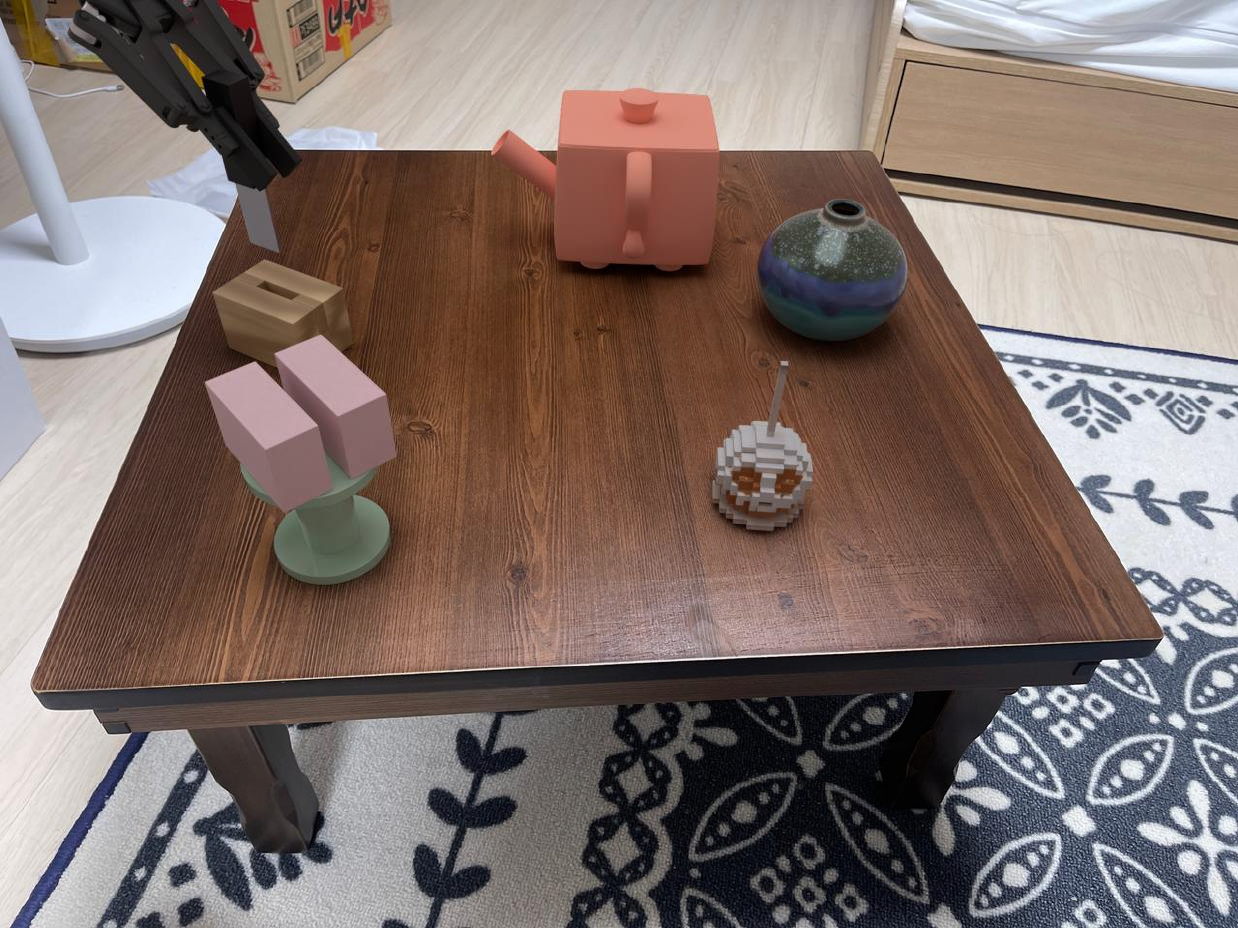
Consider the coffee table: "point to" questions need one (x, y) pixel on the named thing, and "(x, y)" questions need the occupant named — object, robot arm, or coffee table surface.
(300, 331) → the knife block
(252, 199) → the knife
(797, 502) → the decorative ornament
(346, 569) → the cake stand
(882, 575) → the coffee table surface
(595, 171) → the teapot
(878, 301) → the vase
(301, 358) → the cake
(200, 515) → the coffee table surface
